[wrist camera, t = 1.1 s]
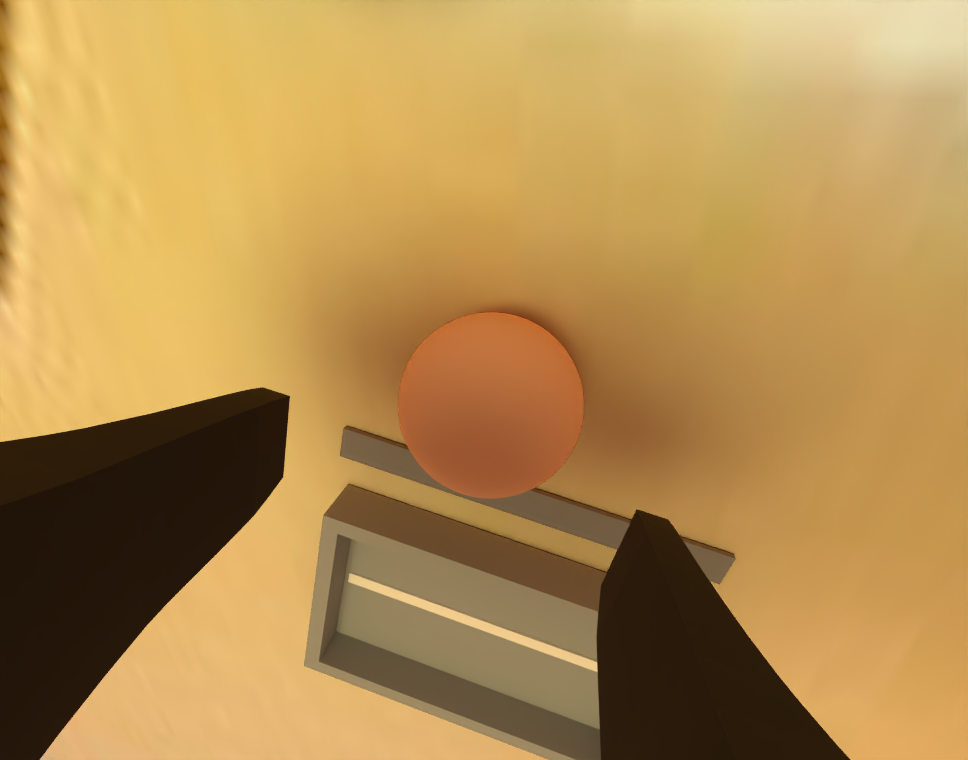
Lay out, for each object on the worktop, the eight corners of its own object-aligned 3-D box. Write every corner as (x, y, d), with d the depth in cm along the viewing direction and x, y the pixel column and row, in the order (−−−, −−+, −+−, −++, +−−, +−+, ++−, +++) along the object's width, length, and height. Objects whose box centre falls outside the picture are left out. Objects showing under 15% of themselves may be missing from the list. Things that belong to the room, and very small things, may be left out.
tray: (691, 601, 18) (701, 647, 16) (612, 734, 21) (614, 784, 20) (348, 484, 19) (323, 515, 17) (326, 628, 23) (304, 666, 21)
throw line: (733, 554, 17) (735, 558, 17) (718, 579, 17) (719, 584, 17) (346, 425, 18) (343, 428, 18) (342, 453, 19) (339, 455, 18)
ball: (609, 321, 15) (613, 388, 10) (558, 459, 17) (543, 566, 12) (447, 273, 15) (383, 317, 11) (418, 413, 17) (354, 500, 13)
